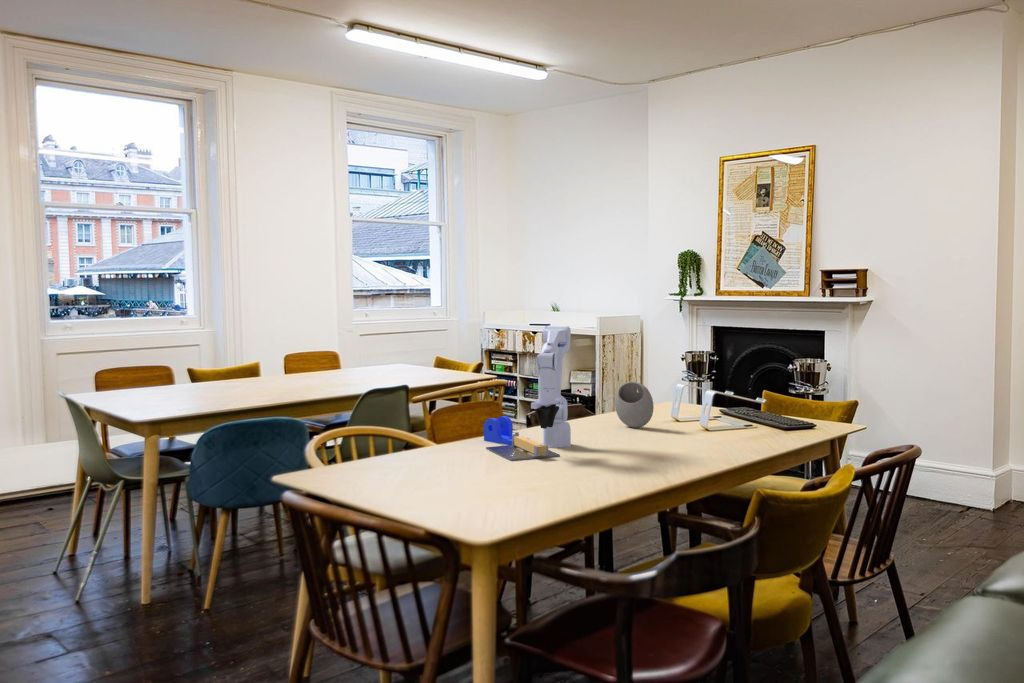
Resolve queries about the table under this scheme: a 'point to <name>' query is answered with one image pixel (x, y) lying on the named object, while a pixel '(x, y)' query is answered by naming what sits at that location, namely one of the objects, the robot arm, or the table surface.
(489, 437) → the bracket
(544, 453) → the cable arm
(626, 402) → the planter
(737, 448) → the table surface
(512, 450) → the panel
